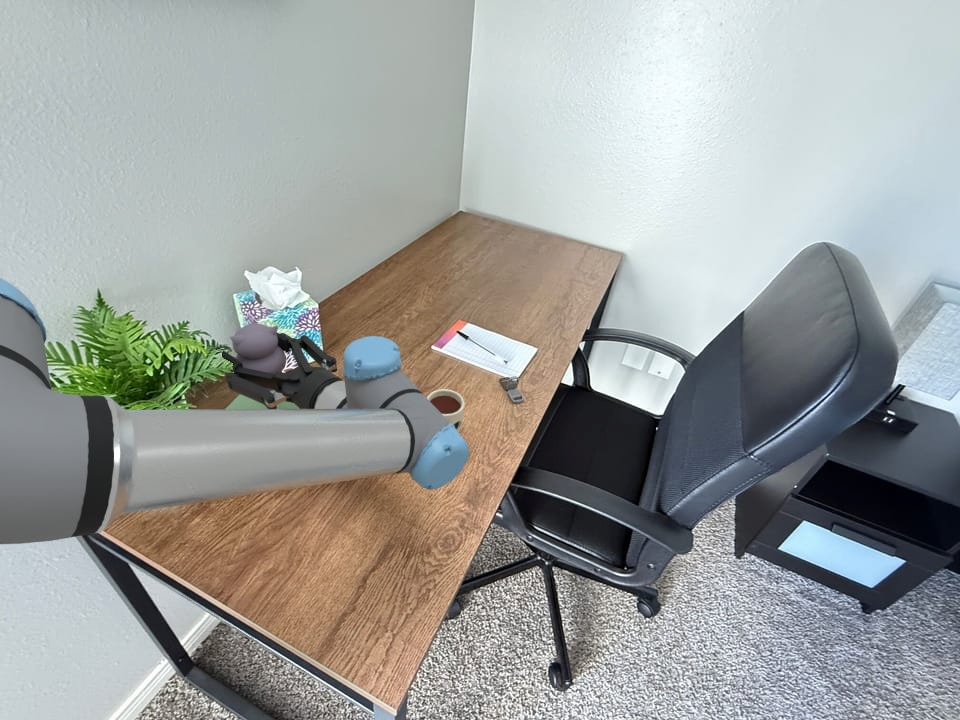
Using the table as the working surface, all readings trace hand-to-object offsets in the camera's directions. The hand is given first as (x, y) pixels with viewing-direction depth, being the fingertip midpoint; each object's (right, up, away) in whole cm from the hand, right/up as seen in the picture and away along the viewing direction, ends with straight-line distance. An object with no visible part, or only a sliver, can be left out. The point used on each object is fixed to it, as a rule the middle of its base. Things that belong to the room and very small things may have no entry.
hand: (241, 342), depth 83 cm
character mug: (+35, -21, +9) cm, 42 cm away
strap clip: (+50, -10, +25) cm, 57 cm away
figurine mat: (+2, -16, +9) cm, 18 cm away
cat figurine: (+3, -7, +2) cm, 8 cm away
